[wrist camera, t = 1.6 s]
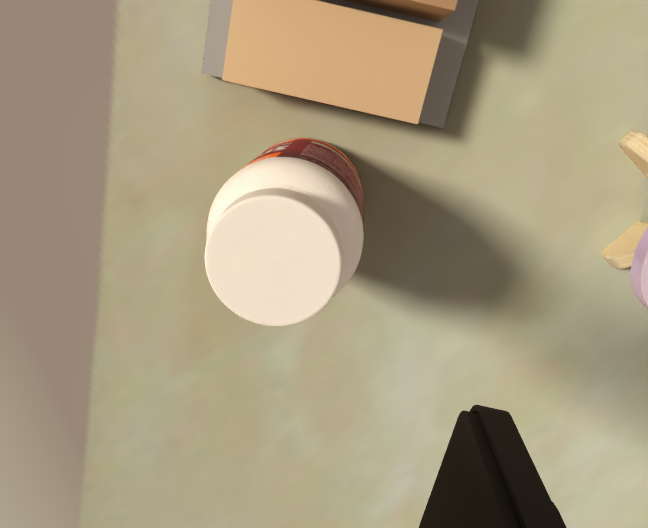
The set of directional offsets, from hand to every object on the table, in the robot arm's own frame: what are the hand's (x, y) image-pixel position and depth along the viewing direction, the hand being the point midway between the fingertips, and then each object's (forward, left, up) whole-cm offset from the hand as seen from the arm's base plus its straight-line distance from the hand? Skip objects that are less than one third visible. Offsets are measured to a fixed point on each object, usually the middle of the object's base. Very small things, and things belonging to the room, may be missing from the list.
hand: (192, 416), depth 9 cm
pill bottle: (0, 0, -20) cm, 20 cm away
